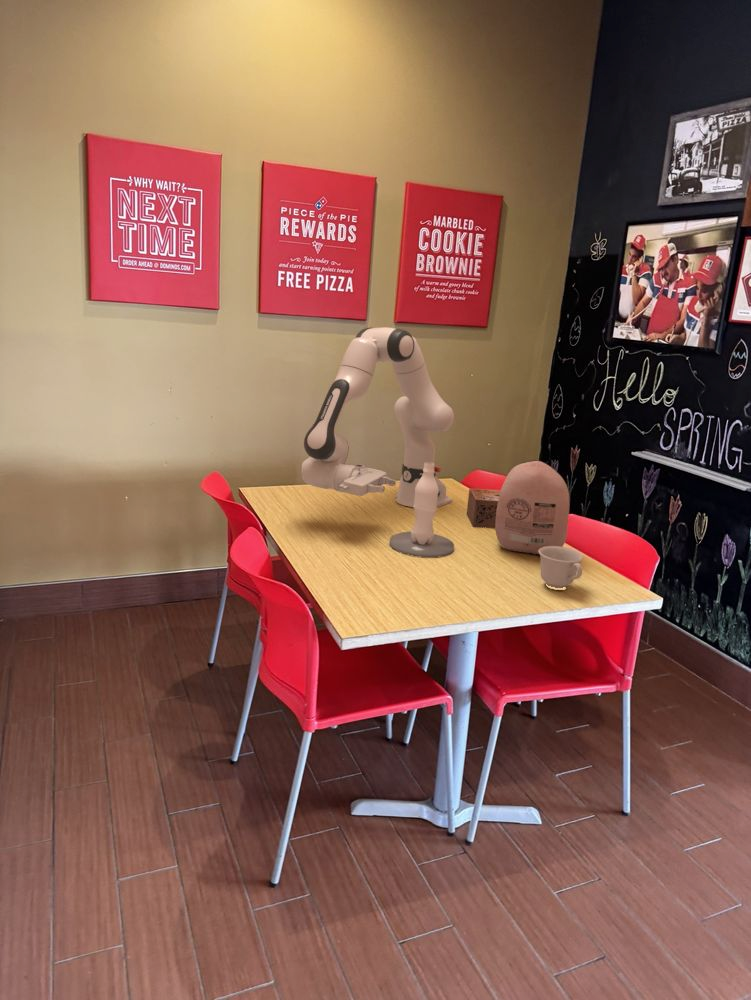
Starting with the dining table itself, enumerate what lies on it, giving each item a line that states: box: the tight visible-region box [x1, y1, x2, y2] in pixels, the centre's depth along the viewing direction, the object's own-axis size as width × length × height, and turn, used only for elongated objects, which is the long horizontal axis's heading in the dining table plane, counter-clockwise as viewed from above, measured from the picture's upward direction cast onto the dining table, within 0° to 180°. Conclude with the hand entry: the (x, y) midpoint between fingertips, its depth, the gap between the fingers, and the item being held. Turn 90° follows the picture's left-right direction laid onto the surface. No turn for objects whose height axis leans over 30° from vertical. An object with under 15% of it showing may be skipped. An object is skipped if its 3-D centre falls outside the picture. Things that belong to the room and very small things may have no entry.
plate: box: [388, 531, 455, 558], centre depth 223 cm, size 20×20×1 cm
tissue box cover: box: [466, 487, 501, 529], centre depth 252 cm, size 26×14×10 cm, turn 92°
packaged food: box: [494, 459, 570, 555], centre depth 221 cm, size 22×20×30 cm
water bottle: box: [410, 462, 439, 545], centre depth 220 cm, size 7×7×25 cm
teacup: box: [538, 546, 584, 588], centre depth 197 cm, size 12×15×10 cm
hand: (389, 486), depth 223 cm, fingers open, 8 cm apart
